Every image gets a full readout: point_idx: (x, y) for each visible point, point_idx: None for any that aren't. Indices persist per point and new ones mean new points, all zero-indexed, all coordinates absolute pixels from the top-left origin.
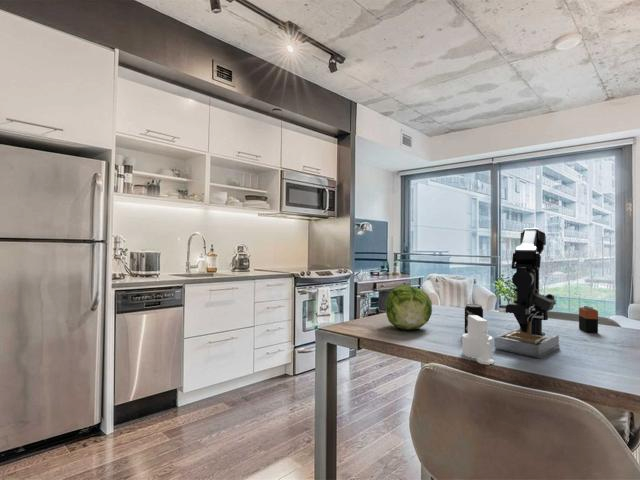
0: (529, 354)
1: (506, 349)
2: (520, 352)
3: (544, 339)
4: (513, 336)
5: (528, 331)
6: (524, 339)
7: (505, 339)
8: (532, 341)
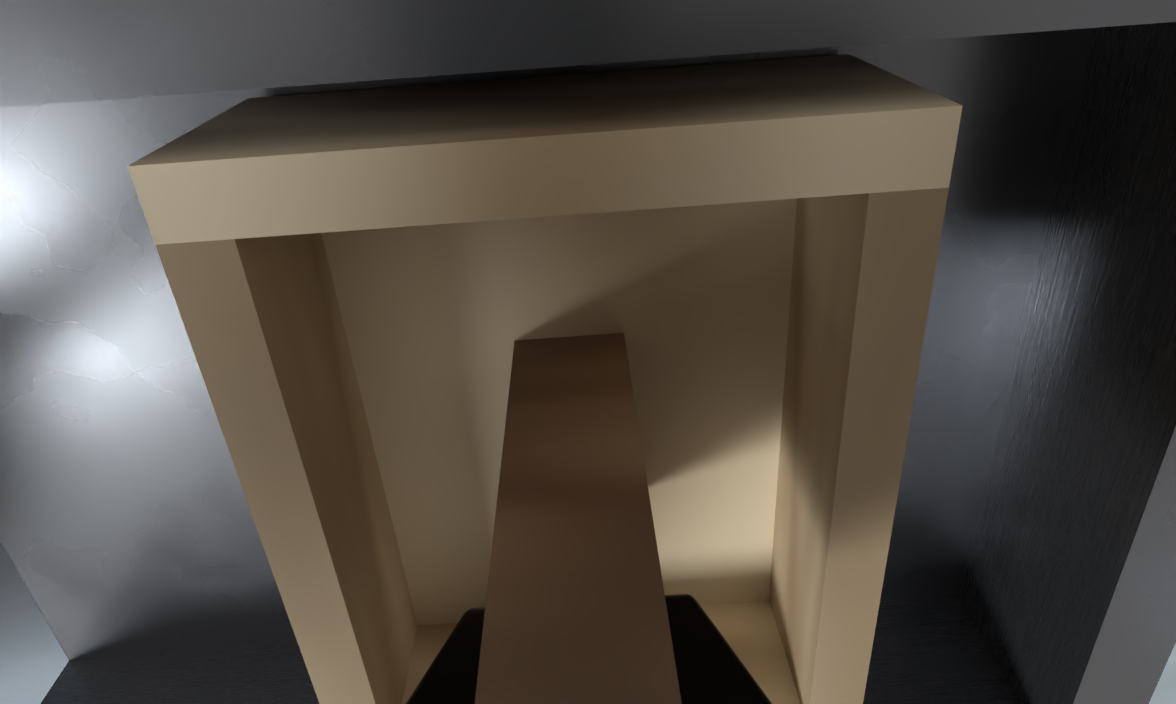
0: (1058, 119)
1: (967, 499)
2: (1014, 289)
3: (492, 70)
4: (847, 649)
5: (660, 572)
6: (896, 431)
7: (1166, 639)
8: (916, 241)
